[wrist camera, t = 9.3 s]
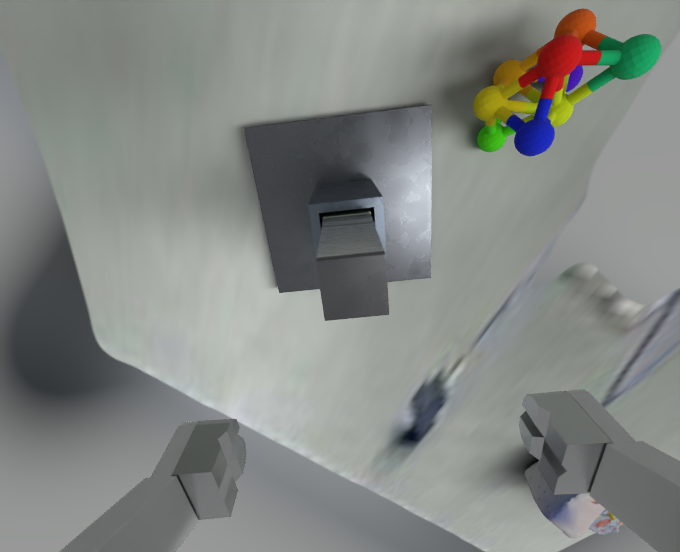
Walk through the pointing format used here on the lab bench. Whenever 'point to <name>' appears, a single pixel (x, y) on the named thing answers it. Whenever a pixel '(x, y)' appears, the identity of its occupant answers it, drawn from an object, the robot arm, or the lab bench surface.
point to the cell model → (570, 508)
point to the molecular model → (556, 82)
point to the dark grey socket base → (345, 187)
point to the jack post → (351, 266)
